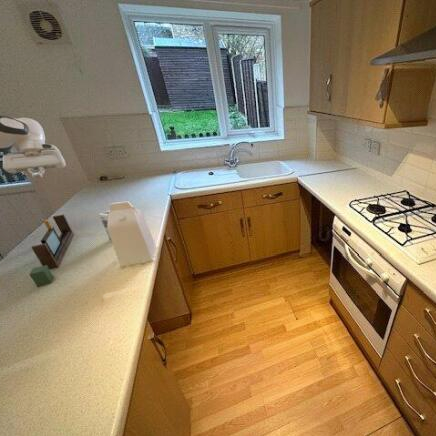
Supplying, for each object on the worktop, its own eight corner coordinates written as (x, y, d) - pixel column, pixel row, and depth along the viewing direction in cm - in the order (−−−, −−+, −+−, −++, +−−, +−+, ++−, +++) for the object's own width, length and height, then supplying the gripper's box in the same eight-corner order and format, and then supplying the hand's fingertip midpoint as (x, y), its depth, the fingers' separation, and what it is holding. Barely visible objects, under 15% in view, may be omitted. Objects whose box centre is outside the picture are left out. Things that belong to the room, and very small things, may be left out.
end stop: (40, 280, 93) (32, 268, 90) (54, 276, 95) (46, 264, 92) (37, 286, 90) (29, 274, 87) (51, 283, 91) (43, 270, 89)
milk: (156, 246, 113) (139, 195, 101) (152, 260, 103) (133, 206, 91) (127, 251, 109) (106, 199, 97) (120, 267, 100) (96, 210, 88)
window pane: (58, 244, 111) (45, 219, 105) (62, 243, 112) (49, 218, 106) (51, 258, 101) (35, 232, 95) (54, 257, 102) (39, 231, 96)
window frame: (64, 236, 122) (53, 216, 116) (74, 234, 124) (63, 214, 118) (45, 270, 98) (31, 247, 92) (58, 267, 100) (44, 244, 94)
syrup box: (109, 240, 118) (97, 214, 111) (119, 234, 123) (109, 209, 116) (118, 242, 117) (107, 215, 110) (128, 235, 122) (118, 210, 115)
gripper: (-3, 149, 103) (-1, 177, 100) (58, 144, 111) (62, 170, 108) (7, 157, 108) (10, 184, 105) (65, 152, 117) (69, 177, 114)
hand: (37, 177), depth 107 cm, fingers closed
